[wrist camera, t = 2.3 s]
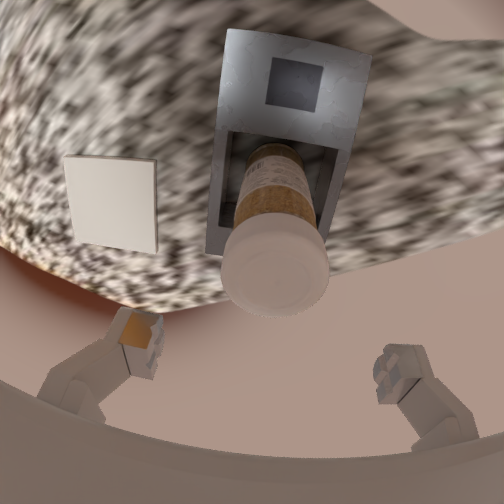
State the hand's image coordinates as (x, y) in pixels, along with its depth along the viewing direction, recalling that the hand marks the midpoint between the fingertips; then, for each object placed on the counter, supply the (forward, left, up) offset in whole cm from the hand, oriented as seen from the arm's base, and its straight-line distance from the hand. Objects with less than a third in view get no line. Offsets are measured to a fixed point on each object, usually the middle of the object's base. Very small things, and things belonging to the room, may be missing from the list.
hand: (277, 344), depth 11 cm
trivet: (+5, -14, -16) cm, 22 cm away
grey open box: (-2, 0, -16) cm, 16 cm away
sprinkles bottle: (0, 0, -16) cm, 16 cm away
